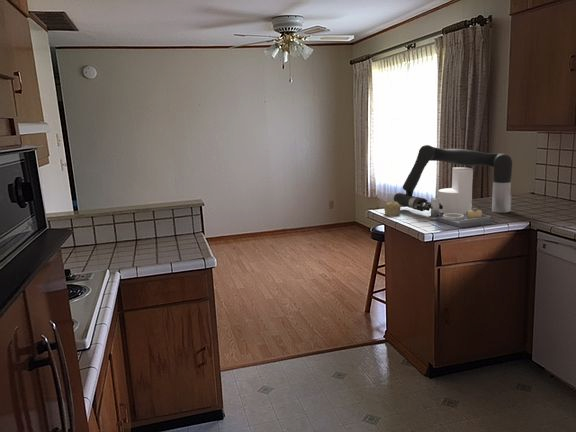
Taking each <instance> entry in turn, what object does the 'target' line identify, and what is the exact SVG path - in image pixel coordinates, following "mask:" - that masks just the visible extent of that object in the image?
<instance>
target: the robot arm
mask: <svg viewBox="0 0 576 432" xmlns="http://www.w3.org/2000/svg"><path fill="white" fill-rule="evenodd" d="M431 161H432V162H435V161H436V162H444V163H445V162H446V163H449V164H454V165H459V166H467V167H473V166H474V167H475V166H477V167H478V166H483V167H484V166H485V167H491V168H493V178H492V179H493V180H492V181H493V182H492V198H491V199H492V202H491V212H493V213H498V214H499V213H503V214H506V213H509V212H511V210H512V194H511V187H512V186H511V185H512V176H513V175H512V172H513V159H512V157H511V156H510V155H509V154H508V153H503V152H502V153H495V152H494V153H489V152H482V151H478V150H471V149H463V148H440V147H435V146H432V145H428V144H425V145H423V146H421V147H420V148H419V149H418V153H417V156H416V160H415V162H414V164H413V167H412V169H411V171H410V172H409V174H408V176H407V177H406V180H405V181H404V183H403V184H402V190H404V191H405V193H403V192H396V194H394V196H393V202H394V201H396V202H398V203H399V204H400V207H404V208H405V207H407V208H410V209H412V210H416V211H419V212H424V211H427V212H429V211H431V201H428V200H427V199H426V198H424V197H420V196H413V194H414V191H415V189H416V187H417V185H418V184H419V181H420V179H421V176H422V174H423V173H424V169H425V168H426V166H427V165H428V164H429V162H431ZM439 209H443V205H441V203H439Z"/></svg>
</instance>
